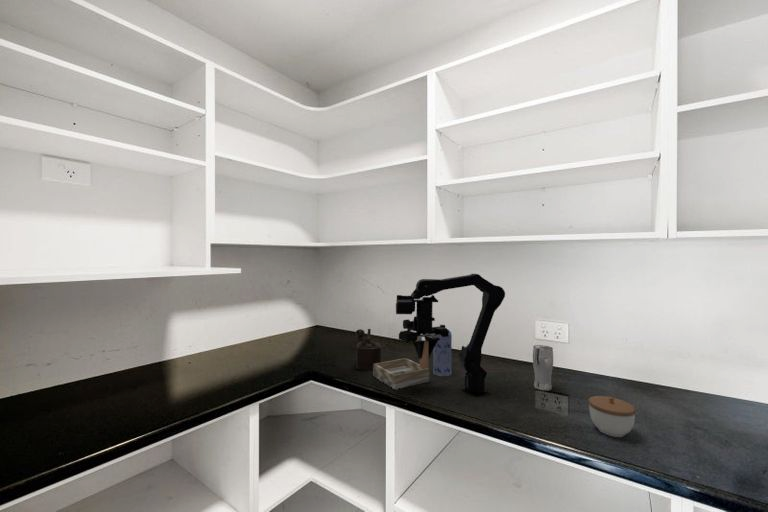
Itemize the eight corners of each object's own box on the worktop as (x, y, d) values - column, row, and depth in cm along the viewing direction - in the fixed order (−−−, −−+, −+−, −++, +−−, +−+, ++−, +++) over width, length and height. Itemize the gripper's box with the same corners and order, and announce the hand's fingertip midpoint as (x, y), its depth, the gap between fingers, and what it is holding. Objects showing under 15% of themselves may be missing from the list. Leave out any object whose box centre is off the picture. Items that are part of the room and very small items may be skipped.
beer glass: (555, 391, 120) (555, 350, 120) (535, 390, 121) (535, 349, 121) (550, 384, 127) (550, 345, 127) (530, 383, 128) (530, 344, 128)
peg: (430, 367, 119) (430, 341, 119) (423, 368, 117) (423, 342, 117) (424, 364, 121) (424, 339, 121) (417, 365, 120) (417, 340, 120)
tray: (429, 381, 129) (429, 368, 129) (394, 389, 121) (394, 375, 121) (405, 369, 143) (405, 358, 143) (373, 376, 134) (373, 363, 134)
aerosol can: (455, 373, 139) (455, 325, 139) (444, 377, 133) (444, 327, 134) (440, 368, 145) (440, 322, 145) (428, 372, 139) (429, 324, 139)
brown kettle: (355, 362, 152) (355, 323, 152) (379, 362, 153) (379, 323, 153) (354, 374, 136) (354, 330, 137) (381, 374, 137) (381, 330, 137)
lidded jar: (608, 442, 87) (608, 406, 87) (579, 422, 97) (580, 390, 97) (645, 441, 88) (645, 405, 88) (613, 421, 98) (614, 389, 98)
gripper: (430, 309, 131) (429, 349, 131) (390, 313, 121) (389, 356, 121) (449, 313, 122) (449, 356, 121) (408, 317, 112) (407, 364, 112)
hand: (423, 358), depth 119 cm, fingers closed on peg, 3 cm apart
